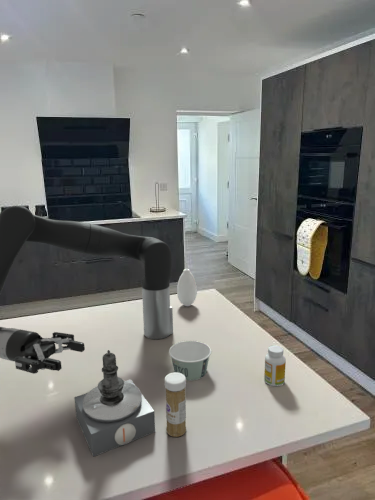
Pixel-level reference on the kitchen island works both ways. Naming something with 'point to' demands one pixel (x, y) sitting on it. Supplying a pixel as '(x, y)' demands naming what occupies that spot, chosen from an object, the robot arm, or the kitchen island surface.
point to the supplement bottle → (275, 366)
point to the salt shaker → (110, 381)
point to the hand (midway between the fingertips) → (72, 356)
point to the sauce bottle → (186, 288)
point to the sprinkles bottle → (175, 404)
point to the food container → (190, 358)
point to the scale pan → (113, 412)
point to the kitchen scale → (115, 427)
